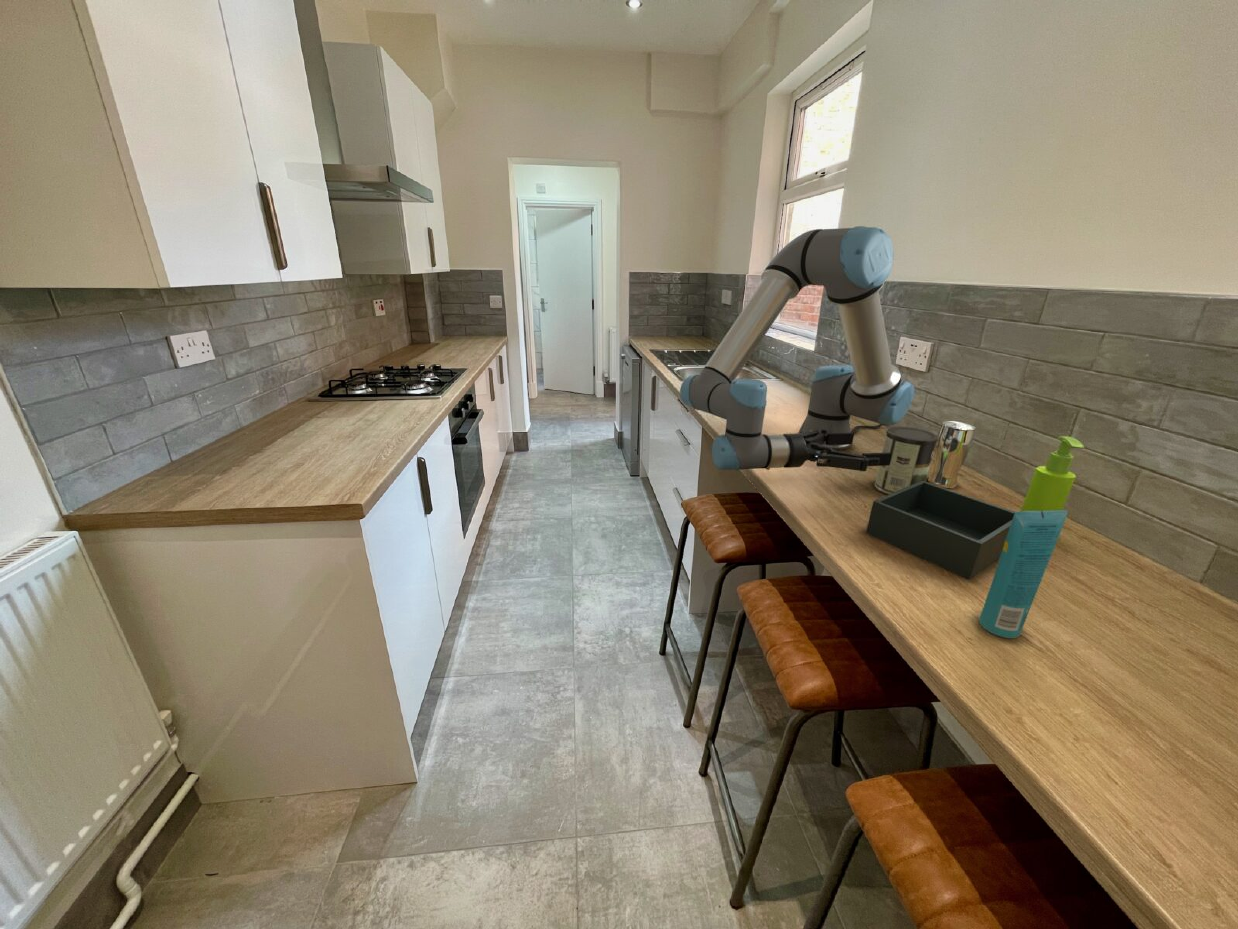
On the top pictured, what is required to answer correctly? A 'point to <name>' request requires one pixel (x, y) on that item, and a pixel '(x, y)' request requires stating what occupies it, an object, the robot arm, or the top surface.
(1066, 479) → the soap dispenser
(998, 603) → the tube
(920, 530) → the storage bin
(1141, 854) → the top surface
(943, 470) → the silver metal cylinder
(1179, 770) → the top surface
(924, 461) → the coffee can
